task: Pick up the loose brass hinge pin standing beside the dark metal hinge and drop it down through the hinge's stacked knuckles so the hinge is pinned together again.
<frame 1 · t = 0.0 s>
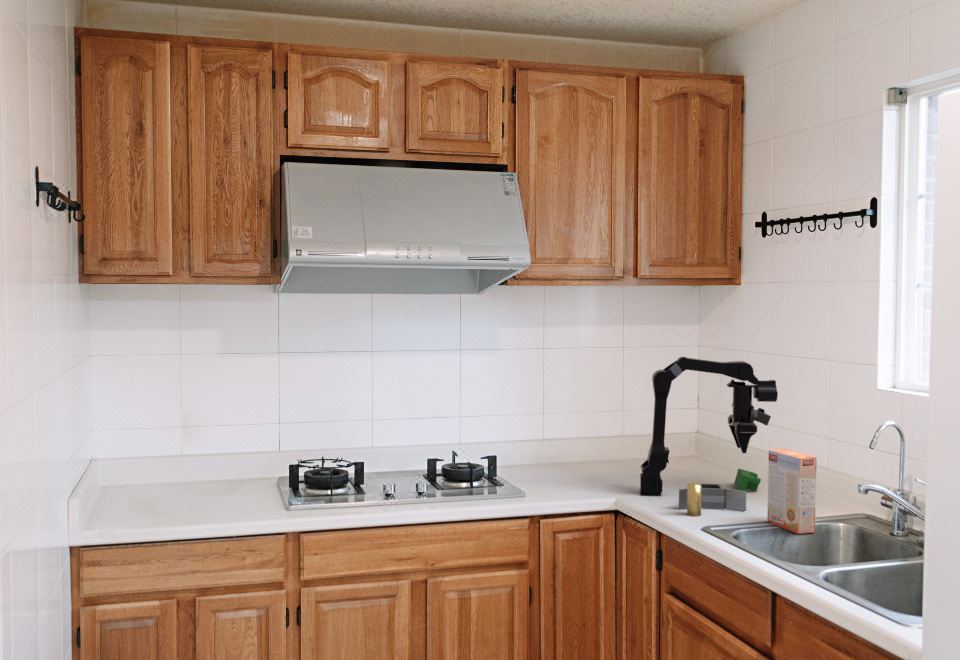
hand: (741, 450, 284), 15 cm above the worktop, tool pointing down, fingers open, 9 cm apart
cracker box: (790, 528, 248), on the worktop
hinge: (710, 505, 272), on the worktop
pin: (694, 514, 262), on the worktop
clamp: (747, 490, 294), on the worktop
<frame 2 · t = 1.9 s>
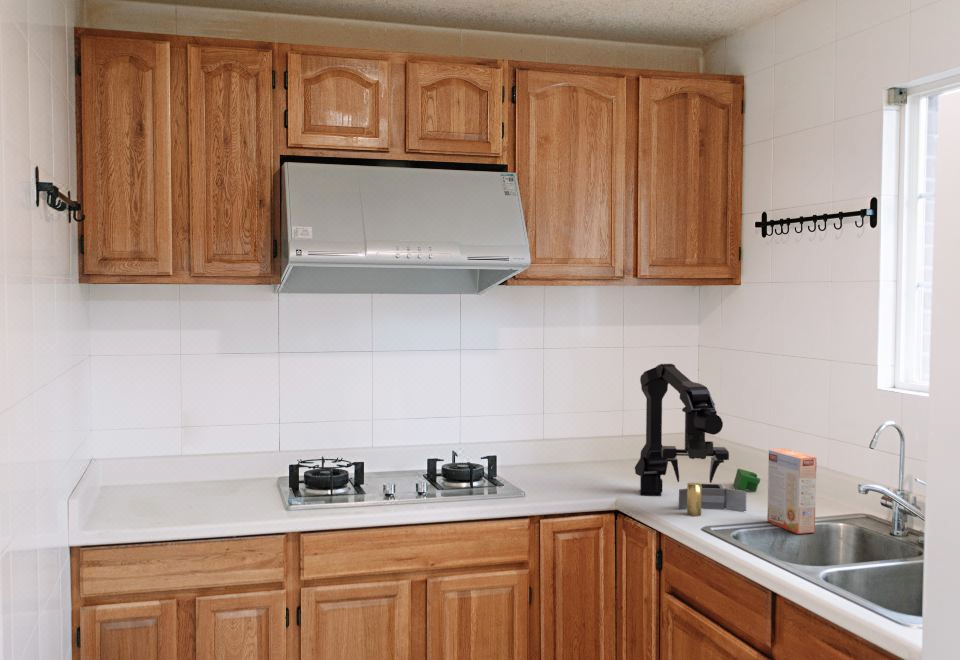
hand: (694, 482, 262), 10 cm above the worktop, tool pointing down, fingers open, 9 cm apart
nothing on the worktop moved.
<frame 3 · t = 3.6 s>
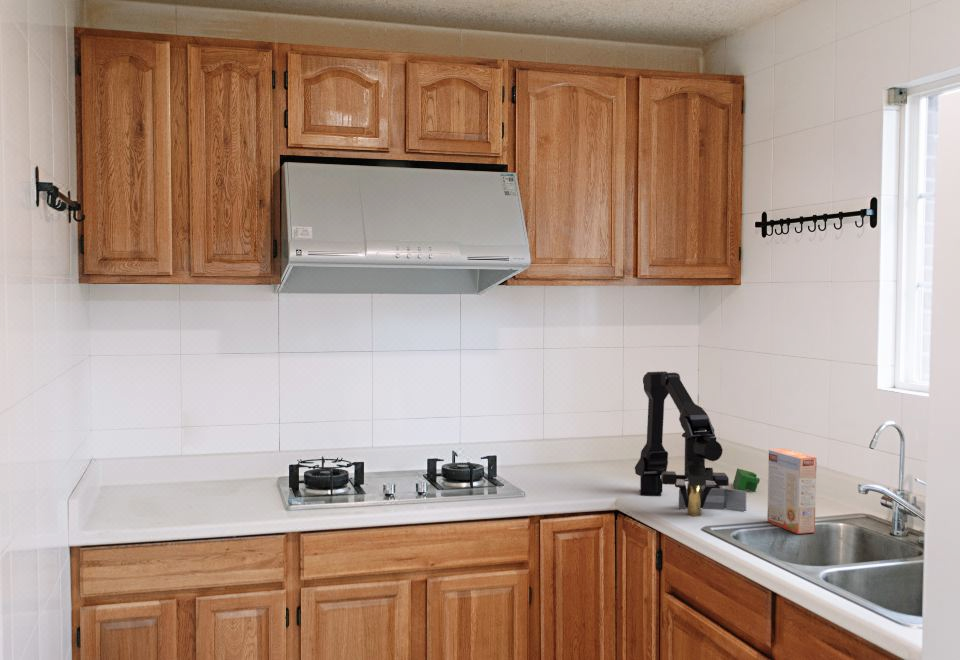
hand: (694, 507, 262), 2 cm above the worktop, tool pointing down, fingers closed on pin, 4 cm apart
pin: (694, 514, 262), on the worktop, touching gripper
everything else where it was.
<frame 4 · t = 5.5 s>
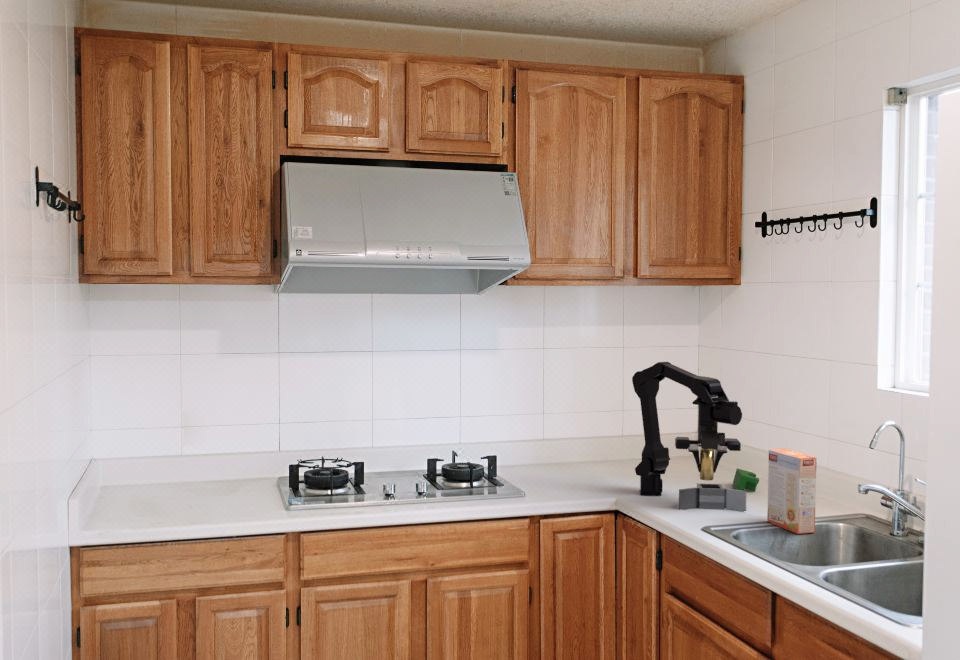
hand: (706, 472, 270), 11 cm above the worktop, tool pointing down, fingers closed on pin, 4 cm apart
pin: (706, 478, 270), point 9 cm above the worktop, touching gripper
everything else where it was.
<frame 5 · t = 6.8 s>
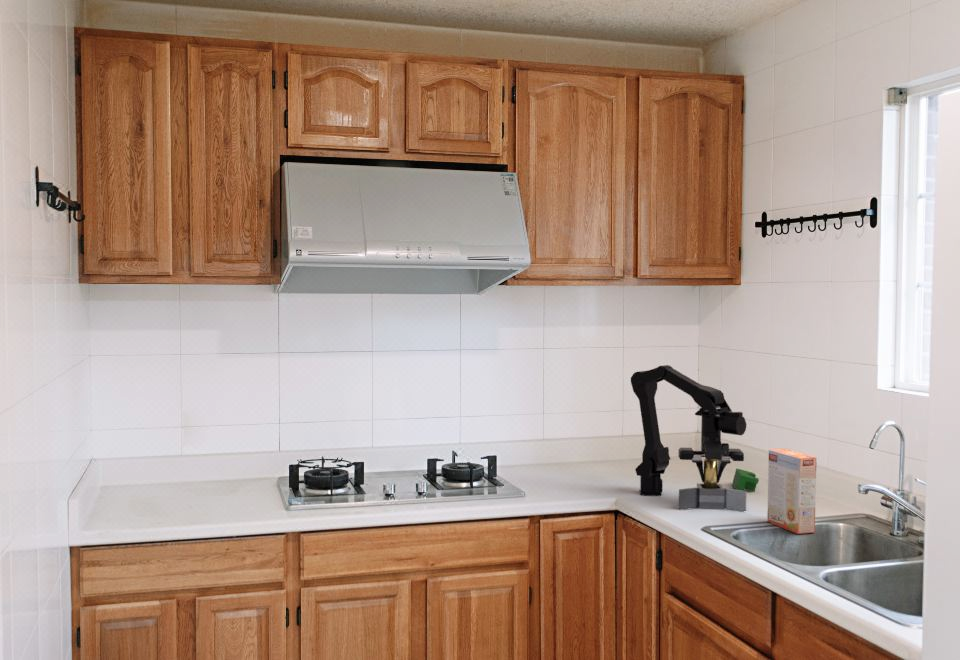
hand: (710, 482, 272), 7 cm above the worktop, tool pointing down, fingers closed on pin, 4 cm apart
pin: (710, 489, 272), point 5 cm above the worktop, touching gripper
everything else where it was.
when the fingers open (7 cm above the worktop, at t = 7.6 s): pin drops 5 cm, on the worktop.
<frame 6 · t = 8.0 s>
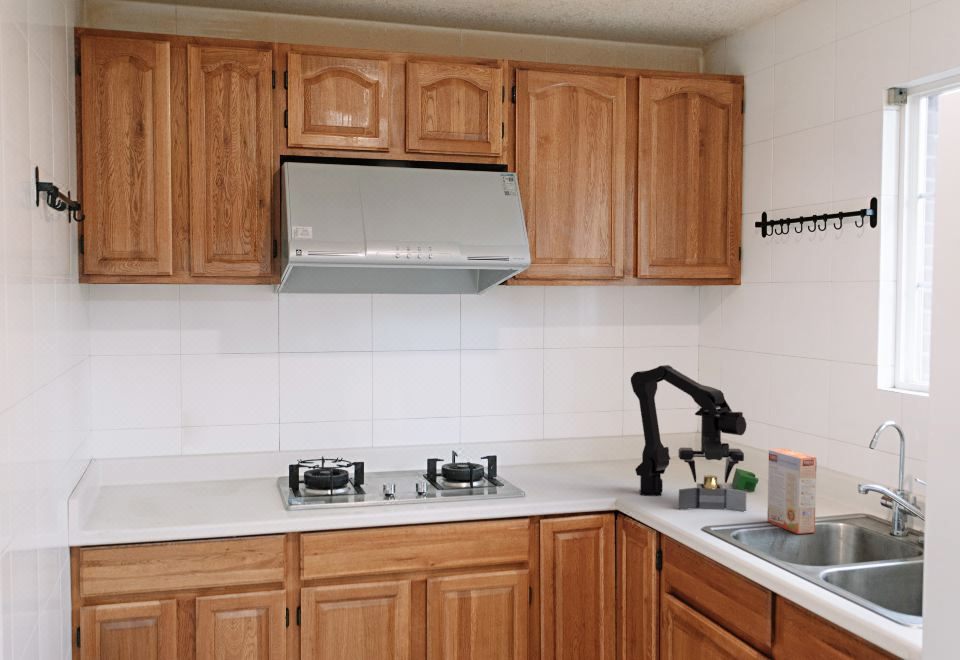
hand: (710, 482, 272), 7 cm above the worktop, tool pointing down, fingers open, 9 cm apart
pin: (710, 506, 272), on the worktop
everything else where it was.
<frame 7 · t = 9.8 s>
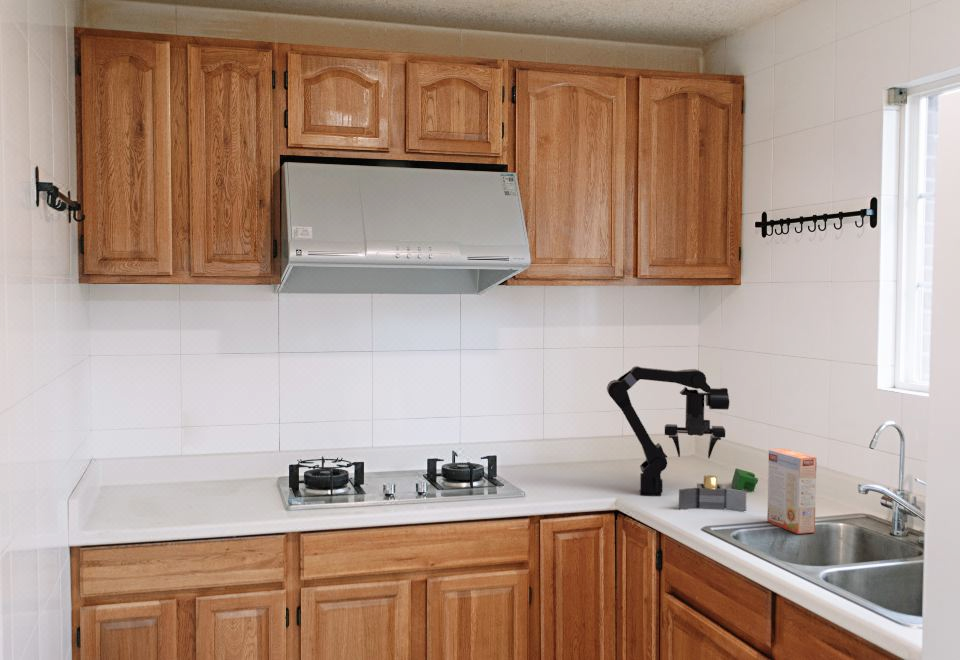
hand: (693, 457, 287), 12 cm above the worktop, tool pointing down, fingers open, 9 cm apart
nothing on the worktop moved.
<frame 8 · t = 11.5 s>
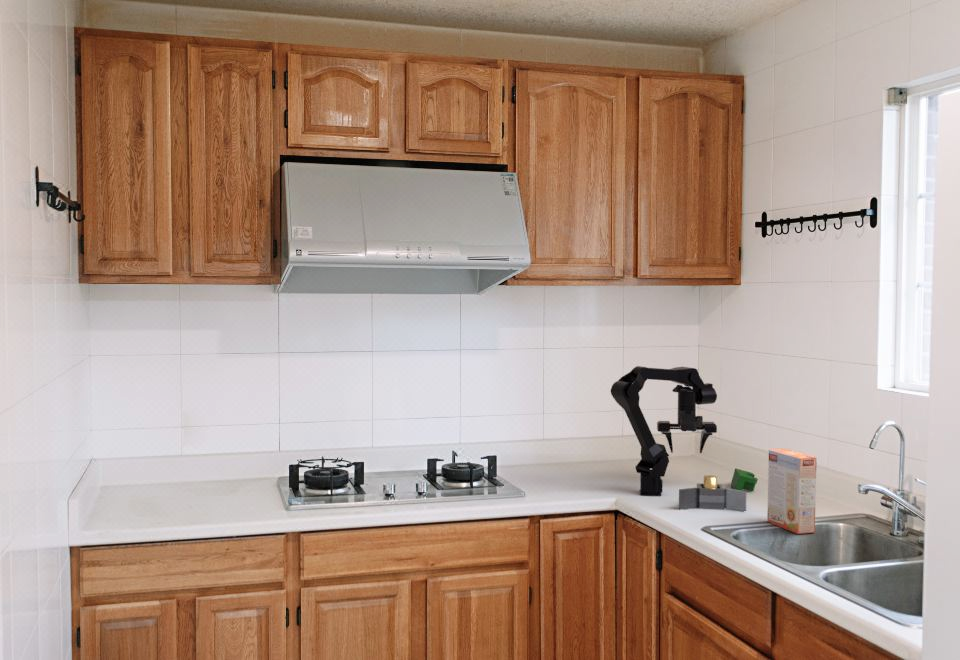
hand: (686, 452, 294), 12 cm above the worktop, tool pointing down, fingers open, 9 cm apart
nothing on the worktop moved.
at the end: pin 0.0 cm off-centre on the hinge, point 0.0 cm above the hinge's base; pin tilted 0°; the gripper is holding nothing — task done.
